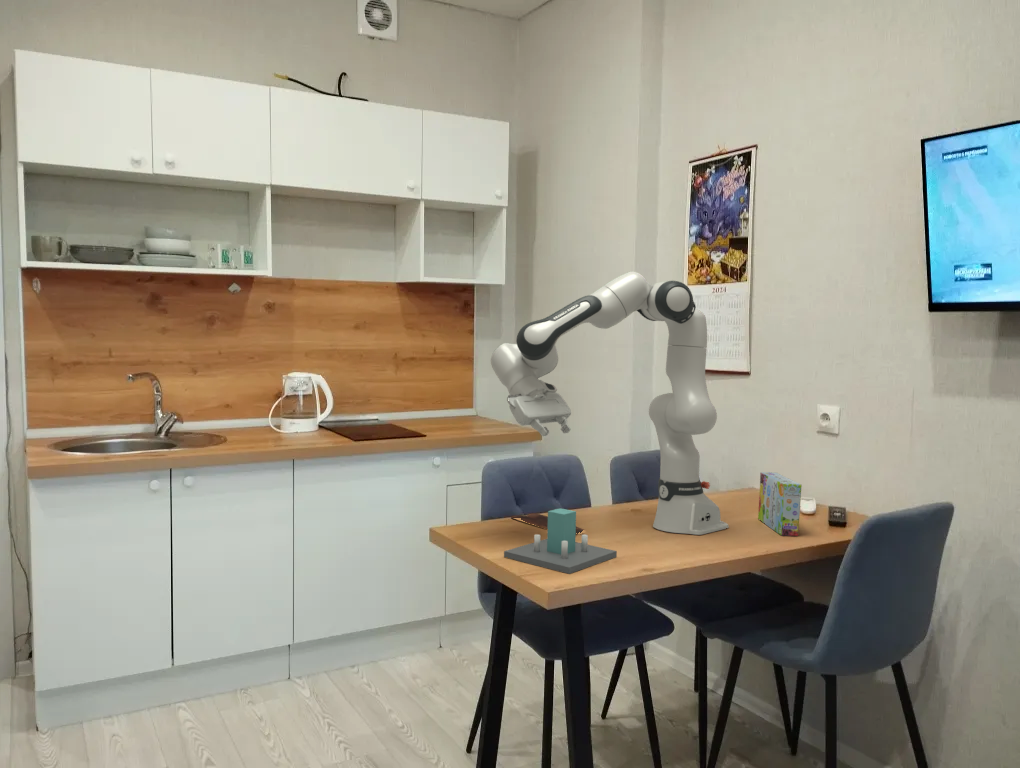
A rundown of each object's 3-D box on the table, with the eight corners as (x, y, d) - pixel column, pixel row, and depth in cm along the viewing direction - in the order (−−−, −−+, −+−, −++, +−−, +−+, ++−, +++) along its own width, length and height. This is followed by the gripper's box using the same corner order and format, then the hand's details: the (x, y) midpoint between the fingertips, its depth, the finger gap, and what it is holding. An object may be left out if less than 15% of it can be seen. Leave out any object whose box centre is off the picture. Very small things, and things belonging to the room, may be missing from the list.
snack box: (800, 536, 222) (802, 484, 221) (780, 536, 222) (782, 483, 221) (774, 519, 243) (776, 471, 242) (756, 519, 243) (758, 471, 242)
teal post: (559, 547, 199) (560, 508, 199) (575, 551, 196) (576, 511, 196) (547, 551, 196) (547, 511, 195) (563, 554, 192) (564, 514, 192)
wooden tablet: (593, 528, 223) (567, 529, 217) (593, 536, 223) (566, 537, 216) (534, 511, 244) (509, 511, 237) (533, 519, 244) (508, 519, 237)
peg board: (552, 542, 210) (553, 522, 210) (616, 556, 197) (617, 535, 197) (503, 557, 195) (504, 535, 194) (569, 573, 182) (570, 550, 182)
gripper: (510, 387, 204) (539, 428, 199) (558, 385, 220) (586, 422, 214) (497, 403, 208) (525, 444, 202) (545, 400, 223) (572, 437, 217)
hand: (557, 433), depth 208 cm, fingers open, 8 cm apart
